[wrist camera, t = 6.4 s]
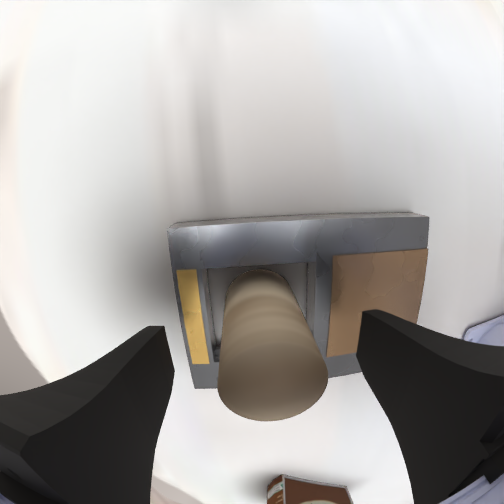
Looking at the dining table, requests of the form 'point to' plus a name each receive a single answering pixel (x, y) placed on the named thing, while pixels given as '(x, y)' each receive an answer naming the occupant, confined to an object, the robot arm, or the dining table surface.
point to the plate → (318, 275)
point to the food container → (305, 492)
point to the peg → (267, 351)
